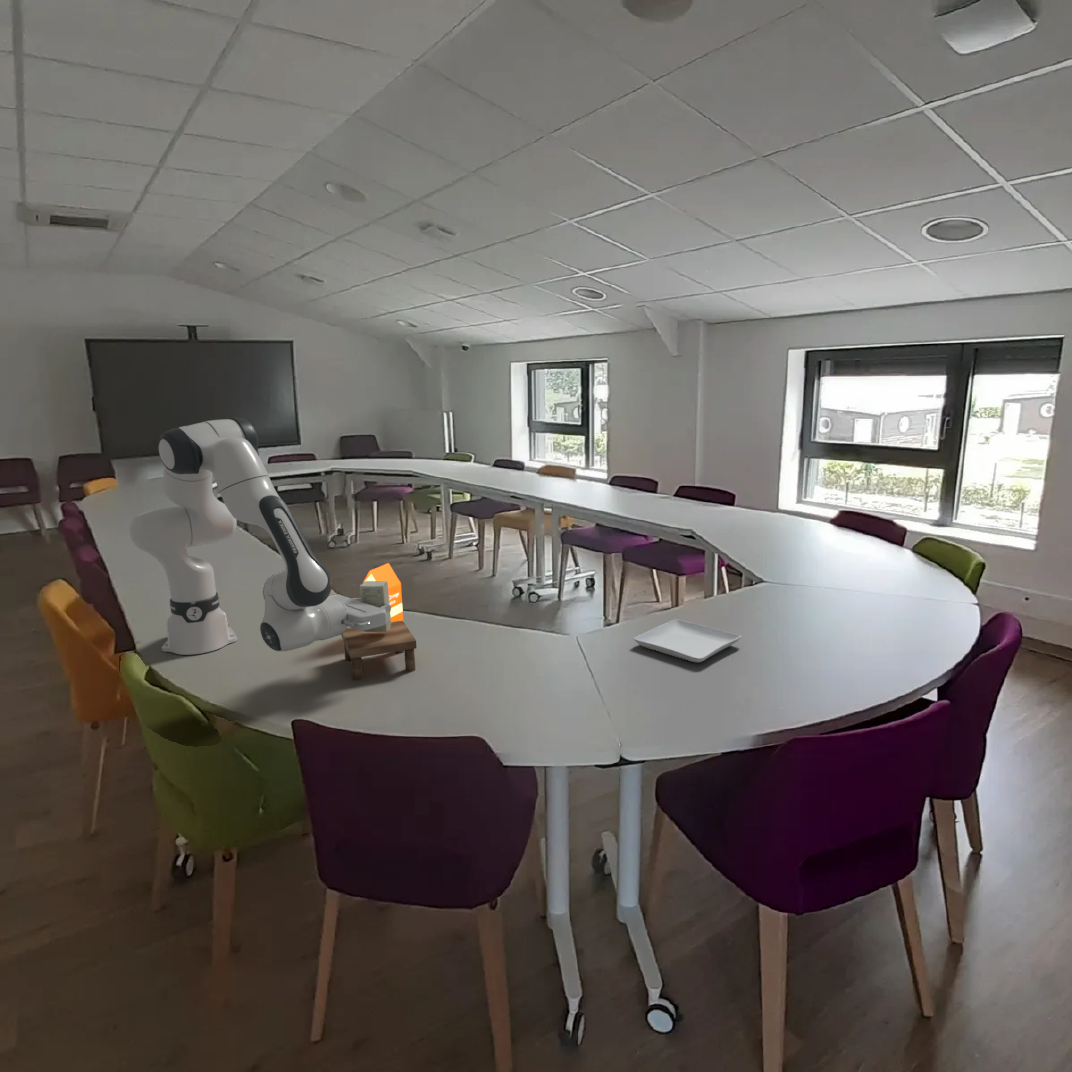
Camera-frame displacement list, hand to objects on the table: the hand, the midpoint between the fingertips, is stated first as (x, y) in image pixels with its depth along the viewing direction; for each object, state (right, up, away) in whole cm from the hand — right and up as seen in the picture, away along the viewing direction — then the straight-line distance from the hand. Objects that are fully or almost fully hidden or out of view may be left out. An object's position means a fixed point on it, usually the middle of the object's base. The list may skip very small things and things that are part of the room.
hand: (378, 603), depth 177 cm
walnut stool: (0, -16, +3) cm, 16 cm away
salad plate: (+80, -13, +12) cm, 82 cm away
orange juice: (-4, -11, +24) cm, 27 cm away
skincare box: (0, -7, +1) cm, 7 cm away
